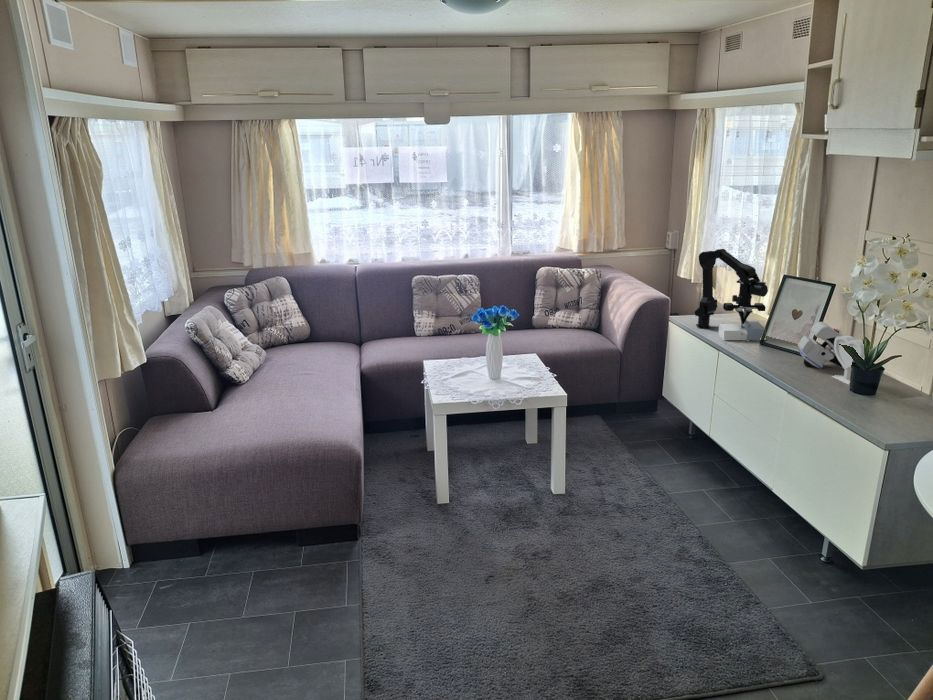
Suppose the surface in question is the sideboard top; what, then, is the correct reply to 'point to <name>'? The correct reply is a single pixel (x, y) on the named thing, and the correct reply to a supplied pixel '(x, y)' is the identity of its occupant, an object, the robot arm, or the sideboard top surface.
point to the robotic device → (819, 346)
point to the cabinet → (753, 330)
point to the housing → (732, 332)
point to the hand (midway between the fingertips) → (742, 323)
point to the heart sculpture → (847, 355)
